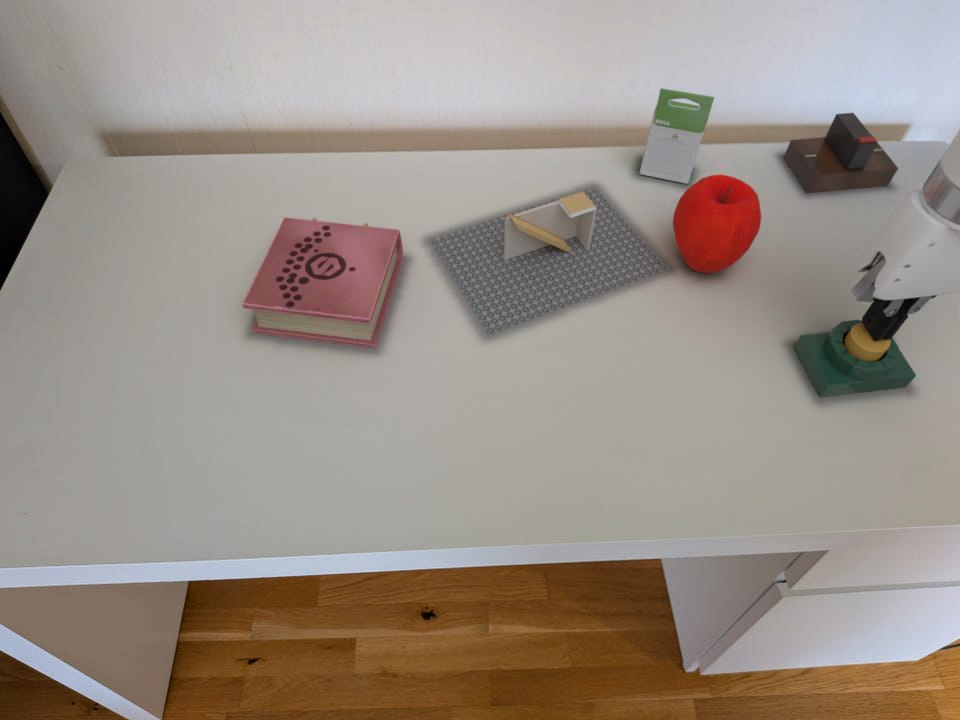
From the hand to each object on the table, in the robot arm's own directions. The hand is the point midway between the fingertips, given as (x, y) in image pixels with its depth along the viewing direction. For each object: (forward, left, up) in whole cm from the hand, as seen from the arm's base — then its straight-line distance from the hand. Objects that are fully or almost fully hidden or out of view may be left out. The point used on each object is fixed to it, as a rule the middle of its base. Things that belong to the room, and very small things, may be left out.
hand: (875, 329), depth 72 cm
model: (+31, -21, -6) cm, 38 cm away
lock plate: (-13, -32, -6) cm, 35 cm away
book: (+58, -18, -6) cm, 61 cm away
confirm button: (+1, +1, -2) cm, 2 cm away
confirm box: (+1, +1, -6) cm, 6 cm away
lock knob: (-13, -32, -3) cm, 35 cm away
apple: (+12, -17, -6) cm, 22 cm away
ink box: (+11, -35, -6) cm, 37 cm away
